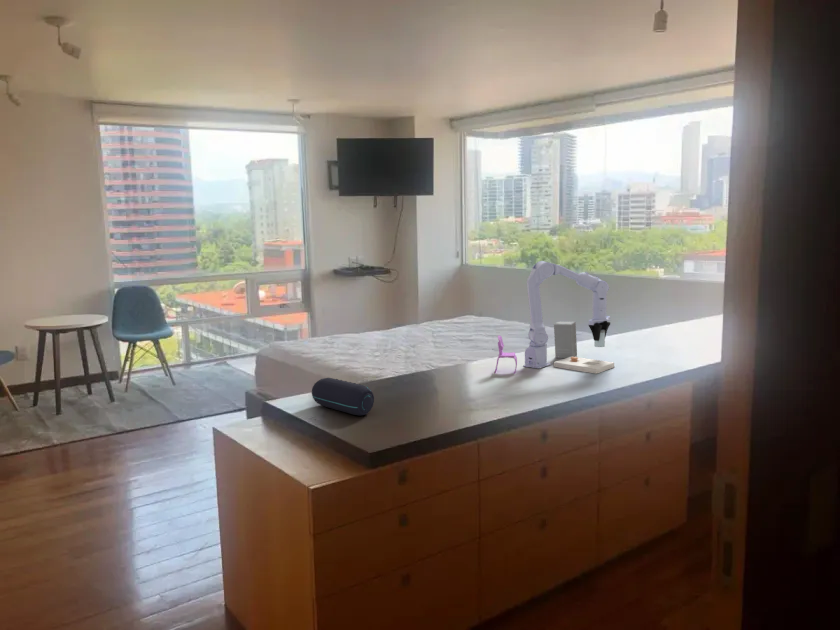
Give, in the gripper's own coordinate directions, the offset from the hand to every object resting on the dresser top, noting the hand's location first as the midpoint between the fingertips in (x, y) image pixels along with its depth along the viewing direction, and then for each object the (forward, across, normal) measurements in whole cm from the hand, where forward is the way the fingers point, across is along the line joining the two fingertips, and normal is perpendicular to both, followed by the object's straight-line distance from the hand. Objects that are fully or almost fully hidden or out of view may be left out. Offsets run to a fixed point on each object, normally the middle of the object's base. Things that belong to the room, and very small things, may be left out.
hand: (599, 339), depth 277 cm
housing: (+10, -11, +1) cm, 15 cm away
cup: (+3, 0, 0) cm, 3 cm away
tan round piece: (+10, -11, +5) cm, 16 cm away
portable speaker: (+10, -115, +30) cm, 119 cm away
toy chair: (+10, -37, +21) cm, 44 cm away
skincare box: (+10, +1, +17) cm, 20 cm away
